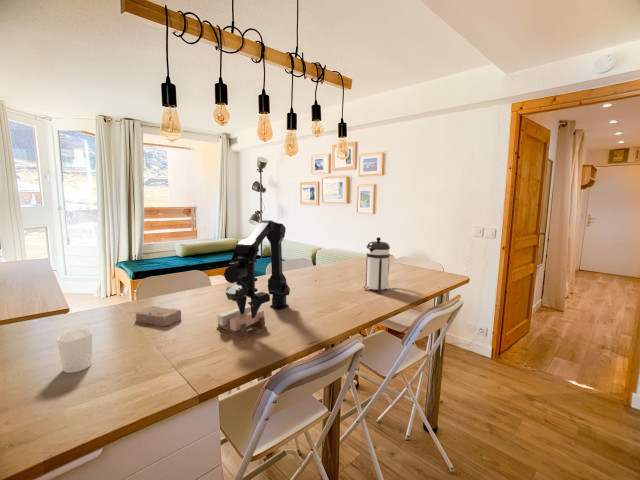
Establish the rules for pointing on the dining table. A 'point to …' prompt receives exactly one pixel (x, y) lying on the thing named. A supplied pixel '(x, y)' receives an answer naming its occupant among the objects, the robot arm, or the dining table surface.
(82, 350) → the white cup
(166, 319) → the brick
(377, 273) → the coffee press
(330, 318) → the dining table surface
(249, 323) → the clay strip
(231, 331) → the rack
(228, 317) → the strip
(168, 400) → the dining table surface
